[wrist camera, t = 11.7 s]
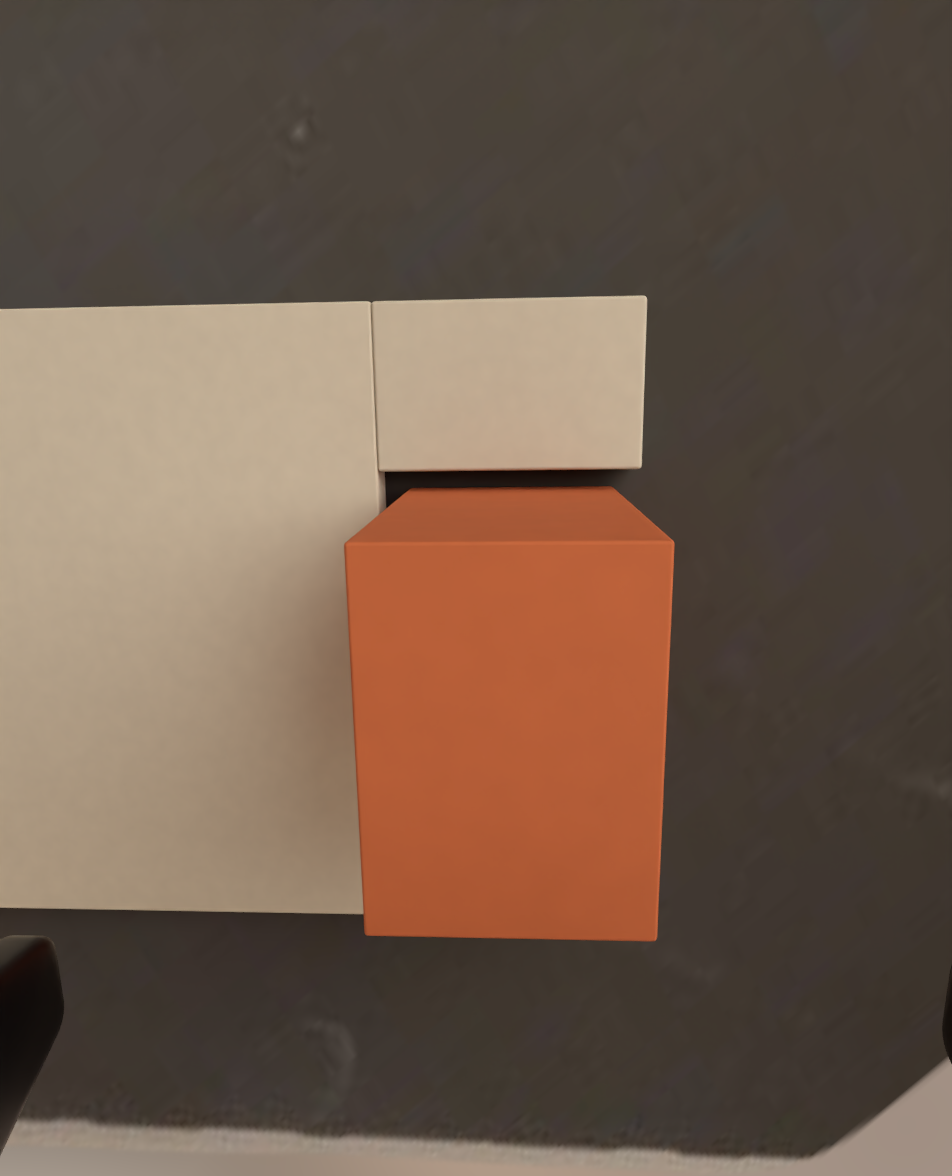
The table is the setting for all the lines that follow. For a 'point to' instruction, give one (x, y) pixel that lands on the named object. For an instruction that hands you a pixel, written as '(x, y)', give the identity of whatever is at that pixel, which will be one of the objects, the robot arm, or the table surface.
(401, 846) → the orange block
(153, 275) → the table surface
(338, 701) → the base pad
